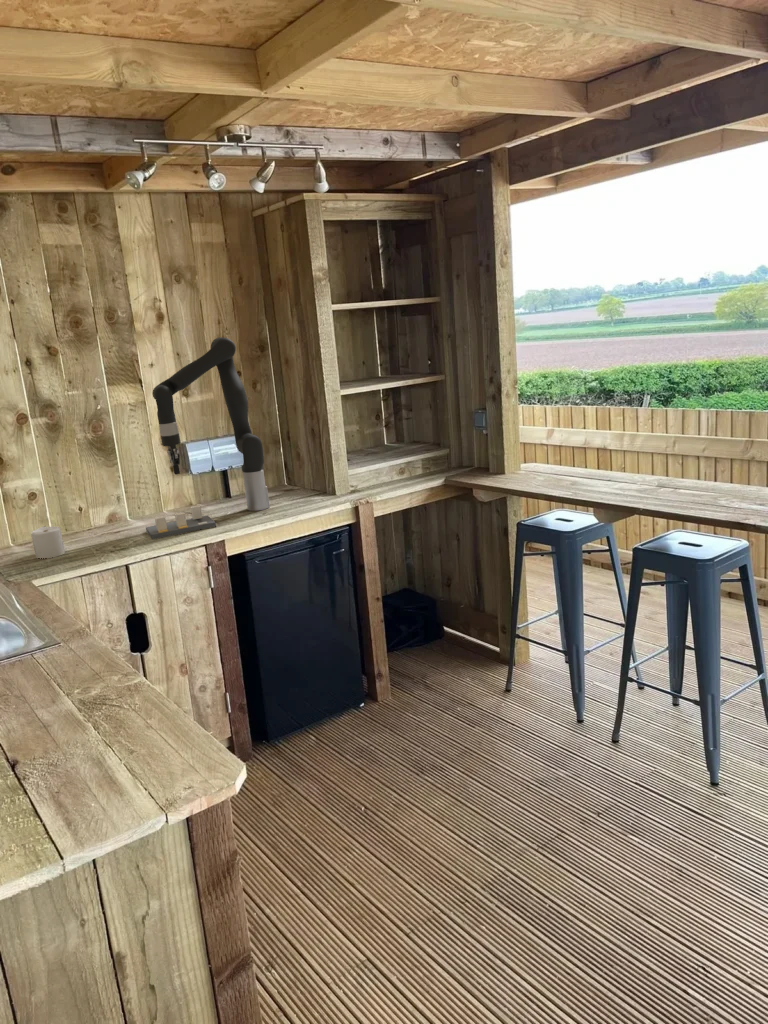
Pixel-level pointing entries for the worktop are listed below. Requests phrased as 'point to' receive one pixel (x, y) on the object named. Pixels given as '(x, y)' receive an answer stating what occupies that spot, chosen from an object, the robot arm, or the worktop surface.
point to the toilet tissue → (47, 542)
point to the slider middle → (180, 519)
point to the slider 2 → (196, 512)
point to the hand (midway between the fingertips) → (177, 473)
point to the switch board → (174, 529)
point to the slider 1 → (160, 523)
